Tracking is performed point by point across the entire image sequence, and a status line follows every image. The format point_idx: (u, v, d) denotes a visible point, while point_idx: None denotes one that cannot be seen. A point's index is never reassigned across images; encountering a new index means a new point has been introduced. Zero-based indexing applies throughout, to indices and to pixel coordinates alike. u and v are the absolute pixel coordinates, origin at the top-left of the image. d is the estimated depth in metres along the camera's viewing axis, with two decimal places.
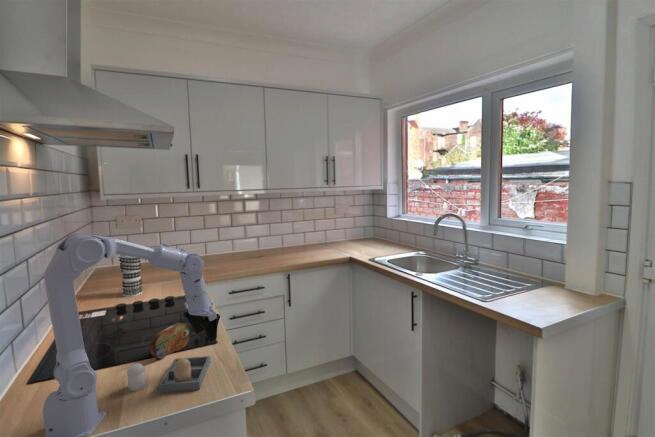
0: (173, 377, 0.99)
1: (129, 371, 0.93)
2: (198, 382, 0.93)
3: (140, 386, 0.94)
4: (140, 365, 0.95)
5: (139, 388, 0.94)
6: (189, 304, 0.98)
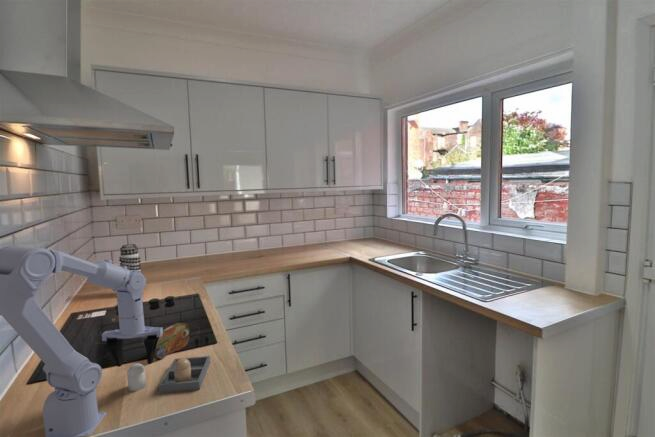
0: (173, 377, 0.99)
1: (129, 371, 0.93)
2: (198, 382, 0.93)
3: (140, 386, 0.94)
4: (140, 365, 0.95)
5: (139, 388, 0.94)
6: (130, 326, 0.91)
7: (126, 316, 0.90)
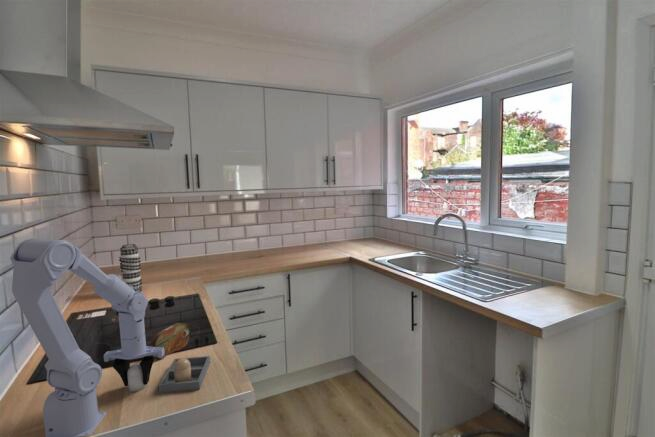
0: (173, 377, 0.99)
1: (129, 371, 0.93)
2: (198, 382, 0.93)
3: (140, 386, 0.94)
4: None
5: (139, 388, 0.94)
6: (131, 347, 0.91)
7: (128, 337, 0.91)
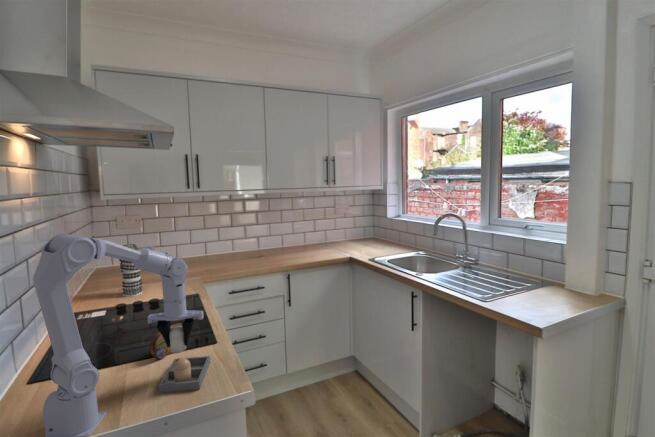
0: (173, 377, 0.99)
1: (171, 332, 0.99)
2: (198, 382, 0.93)
3: (182, 347, 0.99)
4: (181, 327, 1.00)
5: (180, 348, 0.99)
6: (174, 309, 0.97)
7: (168, 299, 0.96)
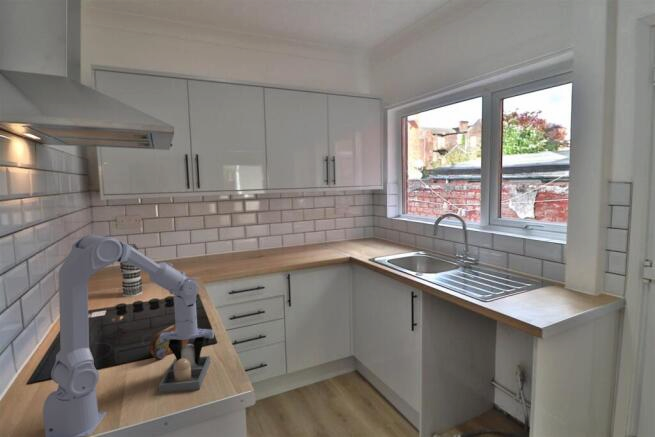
0: (173, 377, 0.99)
1: (183, 351, 1.01)
2: (198, 382, 0.93)
3: (193, 365, 1.02)
4: (192, 345, 1.02)
5: (192, 366, 1.01)
6: (186, 328, 0.99)
7: (180, 319, 0.98)
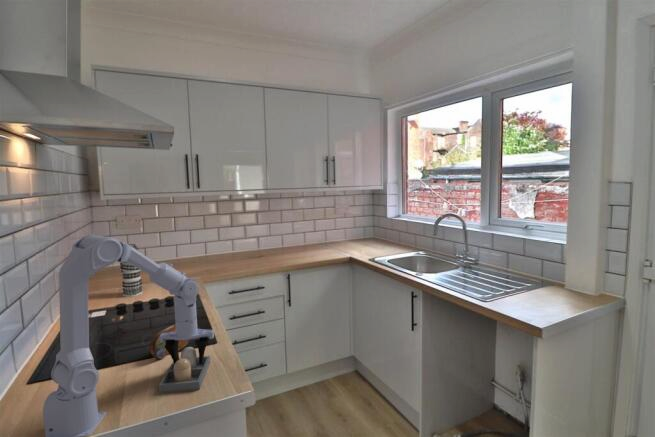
0: (173, 377, 0.99)
1: (183, 354, 1.01)
2: (198, 382, 0.93)
3: None
4: (192, 348, 1.03)
5: None
6: (186, 329, 0.99)
7: (180, 319, 0.98)
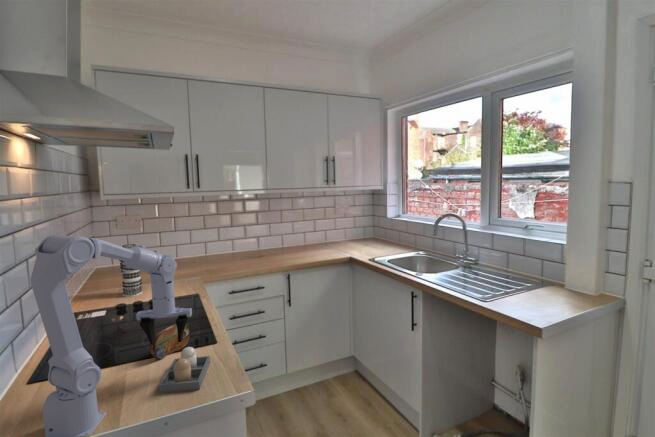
0: (173, 377, 0.99)
1: (183, 354, 1.01)
2: (198, 382, 0.93)
3: None
4: (192, 348, 1.03)
5: None
6: (162, 306, 0.98)
7: (158, 297, 0.98)
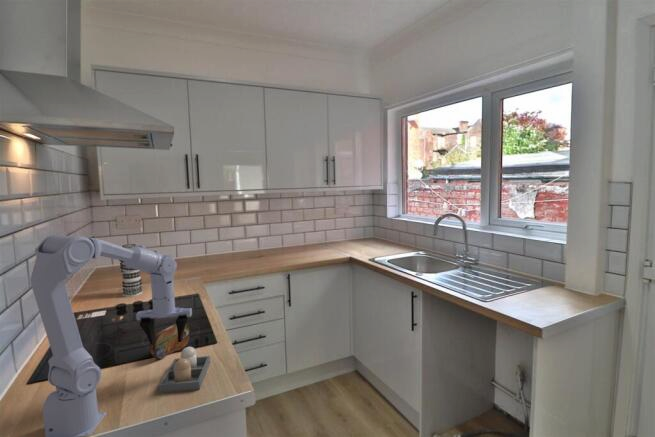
0: (173, 377, 0.99)
1: (183, 353, 1.01)
2: (198, 382, 0.93)
3: None
4: (192, 348, 1.03)
5: None
6: (162, 306, 0.98)
7: (158, 297, 0.98)
